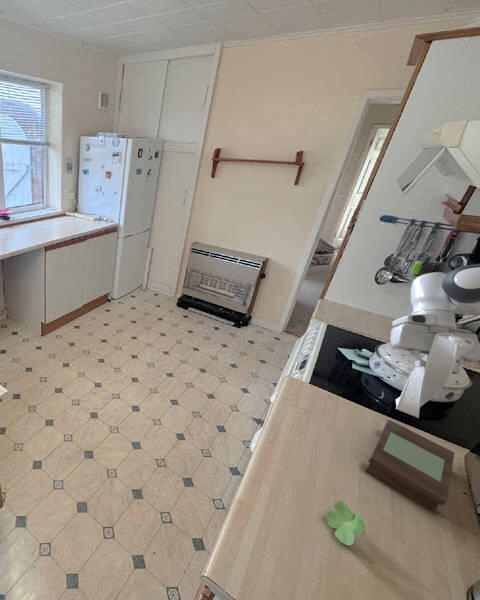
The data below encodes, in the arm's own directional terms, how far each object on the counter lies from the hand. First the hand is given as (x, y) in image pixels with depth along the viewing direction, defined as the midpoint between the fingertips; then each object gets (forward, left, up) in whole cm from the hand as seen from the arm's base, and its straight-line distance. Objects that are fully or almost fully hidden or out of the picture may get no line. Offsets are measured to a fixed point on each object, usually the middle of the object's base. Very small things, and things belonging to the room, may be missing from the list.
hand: (436, 369), depth 92 cm
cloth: (-7, -36, -21) cm, 42 cm away
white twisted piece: (0, -1, -16) cm, 16 cm away
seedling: (+31, +44, -21) cm, 58 cm away
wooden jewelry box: (+8, +19, -21) cm, 30 cm away
